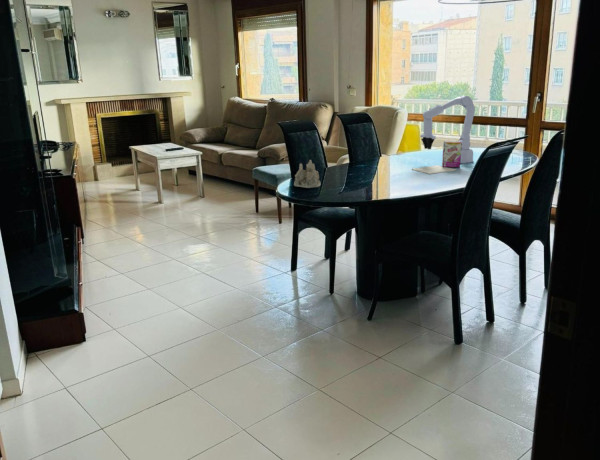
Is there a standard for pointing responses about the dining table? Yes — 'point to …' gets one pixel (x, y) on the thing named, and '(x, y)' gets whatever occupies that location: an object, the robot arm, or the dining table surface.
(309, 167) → the white castle figurine
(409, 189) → the dining table surface
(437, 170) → the mat
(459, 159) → the candy bar box
